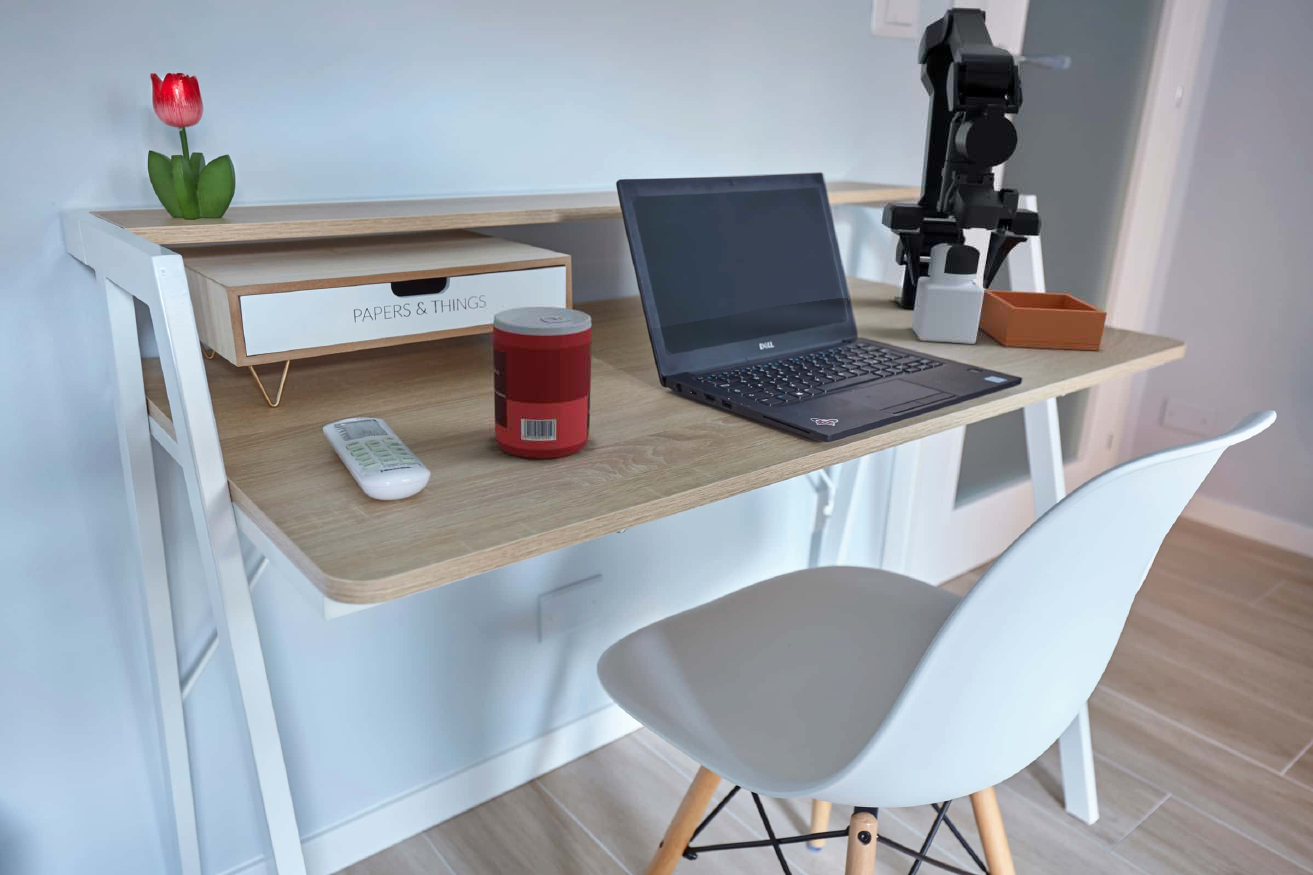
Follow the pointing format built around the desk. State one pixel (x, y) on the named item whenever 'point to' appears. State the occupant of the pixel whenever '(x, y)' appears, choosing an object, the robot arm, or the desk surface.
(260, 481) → the desk surface
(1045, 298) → the bin
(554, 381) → the canned food
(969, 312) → the medicine bottle
